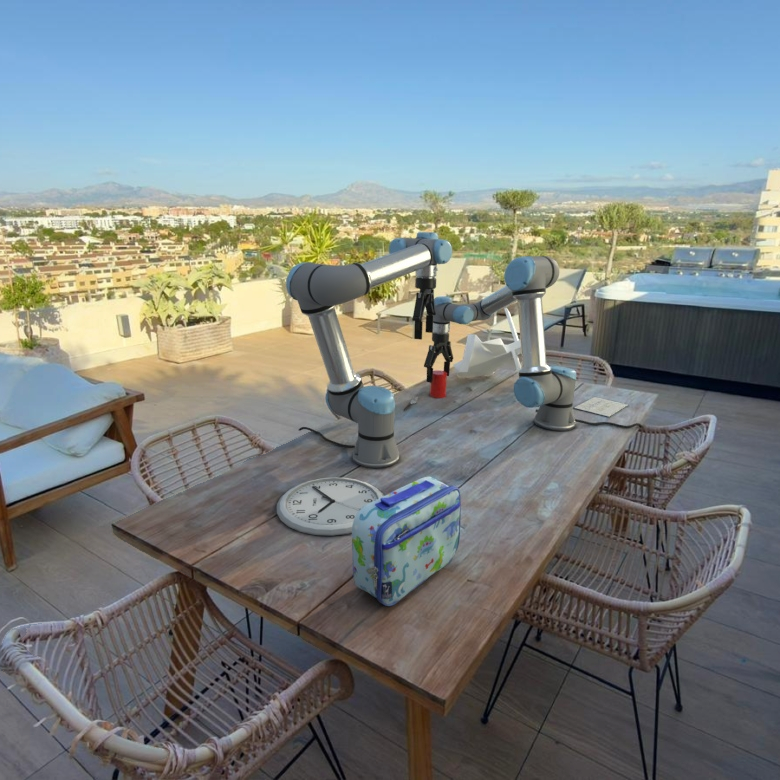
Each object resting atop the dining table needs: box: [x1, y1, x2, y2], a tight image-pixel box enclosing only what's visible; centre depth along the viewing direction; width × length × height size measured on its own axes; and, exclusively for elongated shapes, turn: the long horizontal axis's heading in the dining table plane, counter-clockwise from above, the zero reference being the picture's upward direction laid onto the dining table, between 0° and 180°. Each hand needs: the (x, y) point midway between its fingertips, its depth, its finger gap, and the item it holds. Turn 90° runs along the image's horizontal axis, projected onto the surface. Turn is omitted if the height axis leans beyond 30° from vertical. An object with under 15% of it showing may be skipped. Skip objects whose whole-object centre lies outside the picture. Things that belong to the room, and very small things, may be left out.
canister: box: [429, 370, 448, 399], centre depth 236 cm, size 7×7×11 cm
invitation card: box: [573, 396, 629, 418], centre depth 226 cm, size 21×1×15 cm
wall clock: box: [276, 476, 385, 537], centre depth 142 cm, size 30×2×30 cm
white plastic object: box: [452, 307, 522, 379], centre depth 256 cm, size 37×45×31 cm
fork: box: [403, 395, 419, 411], centre depth 222 cm, size 3×16×2 cm, turn 160°
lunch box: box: [351, 476, 462, 607], centre depth 111 cm, size 26×11×21 cm, turn 135°
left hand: (423, 335), depth 193 cm, fingers open, 13 cm apart
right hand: (438, 378), depth 236 cm, fingers open, 13 cm apart
